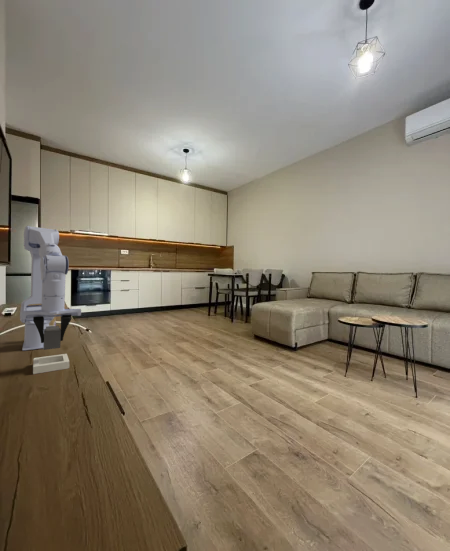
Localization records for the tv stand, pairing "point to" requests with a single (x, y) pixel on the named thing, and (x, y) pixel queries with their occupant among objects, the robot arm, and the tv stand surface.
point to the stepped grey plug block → (52, 337)
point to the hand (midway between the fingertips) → (51, 341)
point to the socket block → (50, 363)
